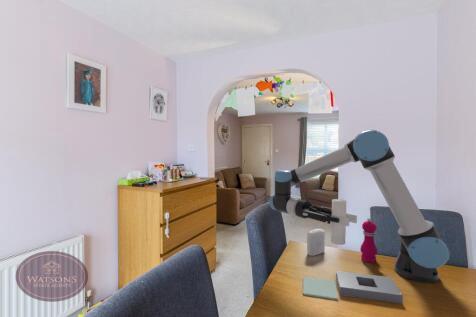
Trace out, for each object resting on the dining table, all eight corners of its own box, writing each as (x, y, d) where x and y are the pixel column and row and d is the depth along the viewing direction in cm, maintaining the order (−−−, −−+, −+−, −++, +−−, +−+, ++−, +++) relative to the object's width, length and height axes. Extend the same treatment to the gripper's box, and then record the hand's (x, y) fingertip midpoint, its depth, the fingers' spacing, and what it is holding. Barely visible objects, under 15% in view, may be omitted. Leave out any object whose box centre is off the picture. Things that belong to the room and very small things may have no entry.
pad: (334, 281, 97) (334, 280, 97) (338, 300, 86) (338, 298, 86) (303, 277, 100) (303, 276, 100) (302, 294, 89) (302, 293, 89)
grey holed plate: (390, 284, 95) (390, 277, 95) (402, 303, 83) (402, 295, 83) (335, 277, 100) (336, 270, 100) (339, 294, 89) (339, 286, 89)
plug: (344, 240, 94) (345, 199, 94) (346, 245, 90) (347, 202, 89) (330, 239, 96) (331, 198, 95) (331, 243, 91) (332, 201, 90)
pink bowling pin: (360, 261, 114) (361, 219, 114) (359, 255, 121) (360, 215, 120) (378, 264, 112) (379, 221, 111) (376, 257, 118) (376, 217, 118)
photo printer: (319, 249, 128) (319, 226, 128) (325, 252, 125) (326, 228, 124) (305, 254, 123) (305, 229, 122) (312, 257, 119) (312, 232, 119)
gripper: (311, 213, 112) (363, 226, 94) (285, 220, 101) (339, 236, 83) (311, 196, 112) (364, 206, 93) (286, 202, 100) (340, 215, 82)
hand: (352, 220), depth 88 cm, fingers closed on plug, 5 cm apart
